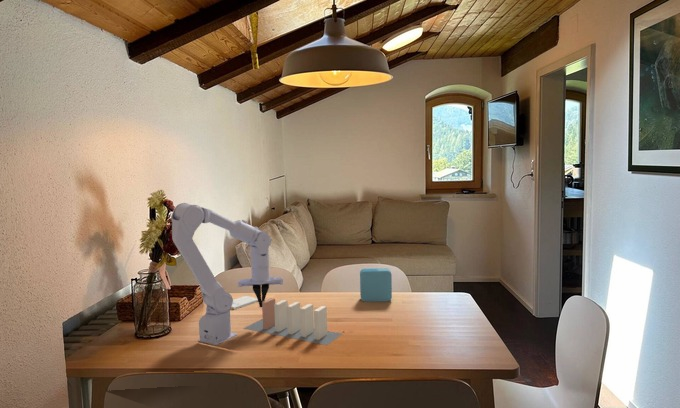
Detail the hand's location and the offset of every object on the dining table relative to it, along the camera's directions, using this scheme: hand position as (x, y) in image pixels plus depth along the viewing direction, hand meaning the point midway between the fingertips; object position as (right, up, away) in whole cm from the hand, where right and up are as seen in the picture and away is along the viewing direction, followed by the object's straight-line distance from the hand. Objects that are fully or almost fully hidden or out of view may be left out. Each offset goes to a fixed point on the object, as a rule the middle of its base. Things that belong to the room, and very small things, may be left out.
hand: (261, 306), depth 158 cm
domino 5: (+20, -7, -11) cm, 24 cm away
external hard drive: (-13, -5, +26) cm, 30 cm away
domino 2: (+7, -7, -3) cm, 10 cm away
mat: (+11, -7, -5) cm, 14 cm away
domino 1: (+3, -7, -1) cm, 7 cm away
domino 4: (+16, -7, -8) cm, 19 cm away
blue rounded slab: (+40, -4, +27) cm, 49 cm away
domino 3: (+11, -7, -6) cm, 15 cm away
